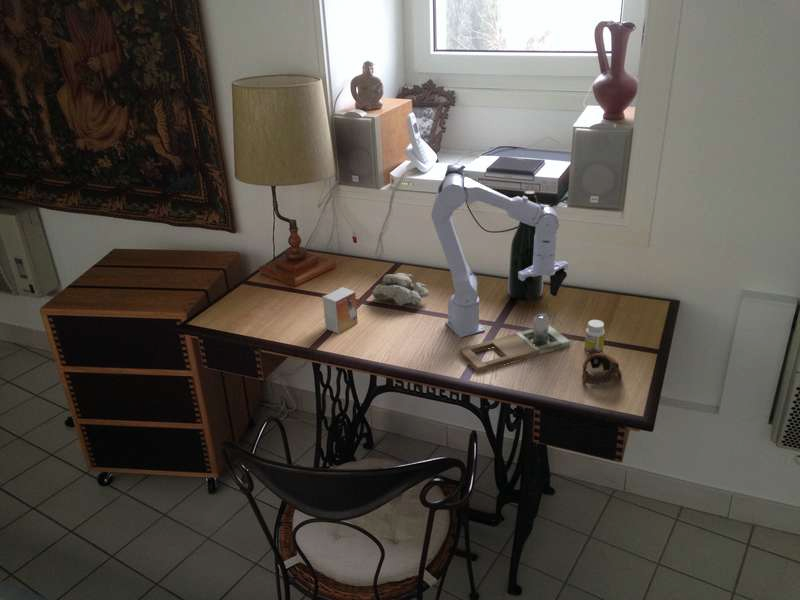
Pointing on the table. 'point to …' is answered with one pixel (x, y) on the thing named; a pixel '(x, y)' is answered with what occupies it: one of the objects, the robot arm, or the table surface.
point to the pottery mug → (596, 361)
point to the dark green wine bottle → (523, 257)
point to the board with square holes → (512, 349)
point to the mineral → (400, 289)
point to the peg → (540, 329)
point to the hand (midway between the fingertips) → (541, 297)
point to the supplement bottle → (594, 336)
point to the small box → (340, 310)
